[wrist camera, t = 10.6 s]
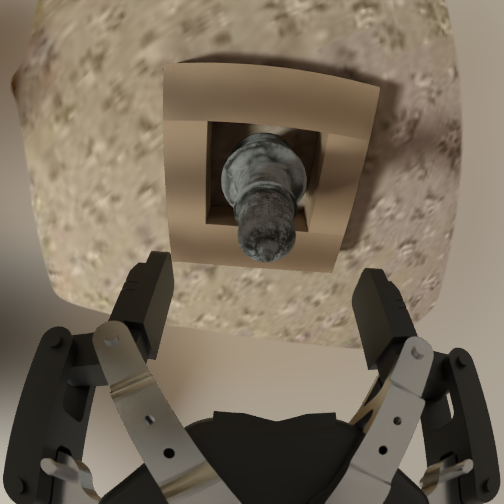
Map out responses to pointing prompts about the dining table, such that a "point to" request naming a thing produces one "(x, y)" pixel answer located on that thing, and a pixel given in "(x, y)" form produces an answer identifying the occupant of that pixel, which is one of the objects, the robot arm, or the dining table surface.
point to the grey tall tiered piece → (264, 194)
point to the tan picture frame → (266, 113)
